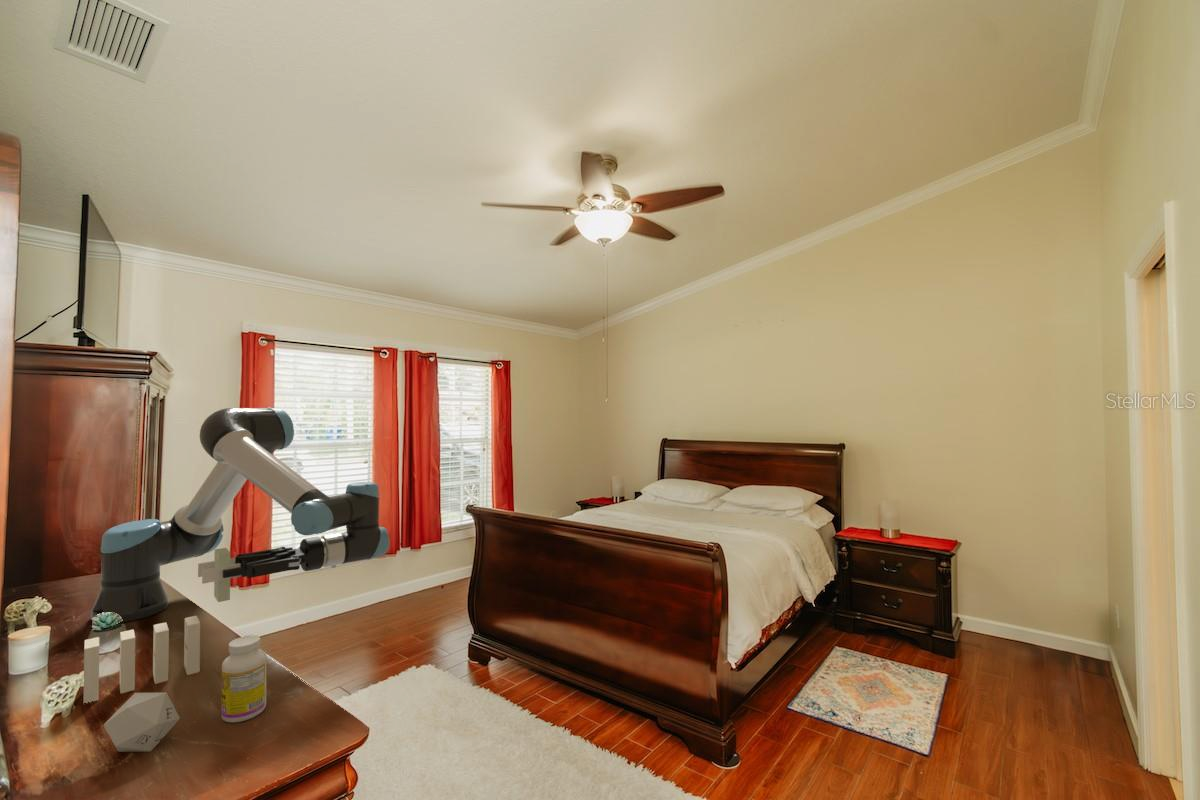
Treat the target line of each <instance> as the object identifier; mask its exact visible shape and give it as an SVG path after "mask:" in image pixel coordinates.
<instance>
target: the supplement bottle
mask: <svg viewBox="0 0 1200 800" xmlns="http://www.w3.org/2000/svg"><path fill="white" fill-rule="evenodd" d="M260 647H261V636H259V635H254V634H252V635H244V636H239V637H237V638H235V639H233V640H231V641H230V642H229V643H228V652H229V655H228V656H226V658H225V659H224V660H223V661H222V664H221V688H220V689H221V692H220V693H221V694H220V695H221V696H220V697H221V699H220V700H221V704H220V705H221V707H220V709H221V711H220V712H221V715H220V716H221V719H222V720H223V721H224V722H226V723H230V724H231V723H240V722H245V721H248V720H251V719H253V718H255V717H257V716H258V715H259V714H261V713H262V712H263V711H264V710H265V709H266V706H267V659H268V658H267V653H266V651H264V650H263V649H261V648H260Z"/></svg>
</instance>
